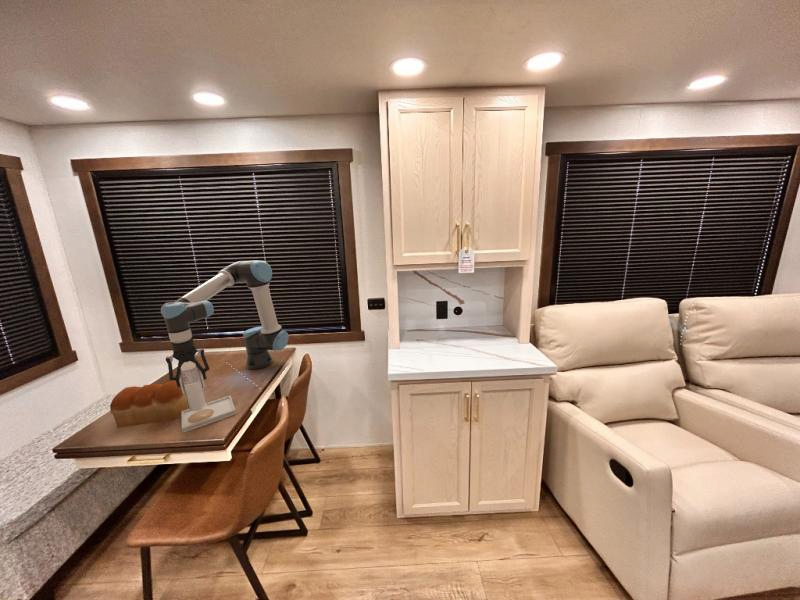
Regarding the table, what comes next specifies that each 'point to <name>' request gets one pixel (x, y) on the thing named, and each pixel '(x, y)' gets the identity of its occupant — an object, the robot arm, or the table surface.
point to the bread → (148, 404)
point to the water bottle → (193, 385)
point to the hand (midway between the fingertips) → (194, 389)
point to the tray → (208, 414)
